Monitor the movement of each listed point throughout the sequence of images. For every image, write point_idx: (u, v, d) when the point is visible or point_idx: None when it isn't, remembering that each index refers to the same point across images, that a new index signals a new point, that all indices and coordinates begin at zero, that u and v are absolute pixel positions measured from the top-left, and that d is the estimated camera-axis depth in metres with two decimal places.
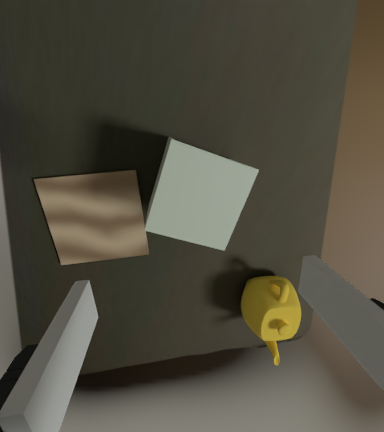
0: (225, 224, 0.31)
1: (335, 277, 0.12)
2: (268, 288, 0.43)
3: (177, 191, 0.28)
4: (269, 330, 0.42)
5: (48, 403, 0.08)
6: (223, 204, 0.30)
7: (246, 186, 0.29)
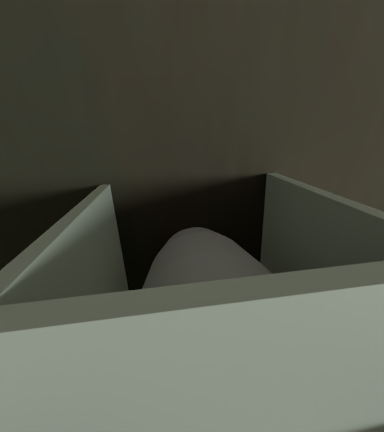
0: None
1: None
2: None
3: None
4: None
5: None
6: None
7: None
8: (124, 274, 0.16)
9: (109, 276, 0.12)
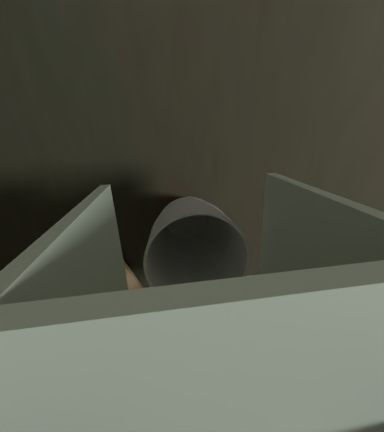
0: None
1: None
2: None
3: None
4: None
5: None
6: None
7: None
8: (124, 274, 0.16)
9: (109, 276, 0.13)
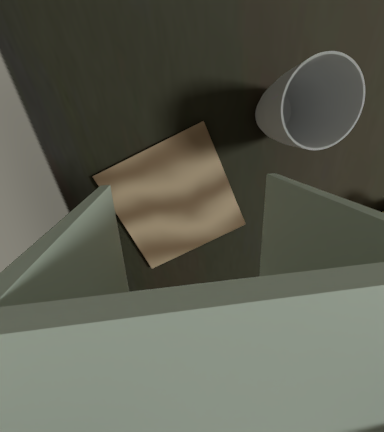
0: None
1: None
2: None
3: None
4: None
5: None
6: None
7: None
8: (124, 274, 0.16)
9: (109, 277, 0.12)
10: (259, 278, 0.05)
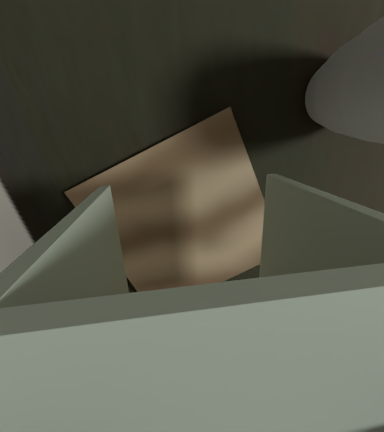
0: None
1: None
2: None
3: None
4: None
5: None
6: None
7: None
8: (124, 275, 0.16)
9: (109, 277, 0.12)
10: (259, 279, 0.05)
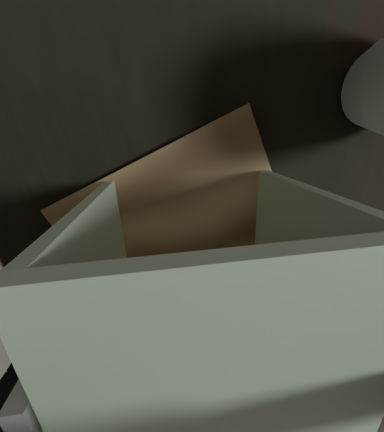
0: None
1: None
2: None
3: (136, 430, 0.07)
4: None
5: None
6: (326, 392, 0.08)
7: None
8: None
9: None
10: (239, 247, 0.06)
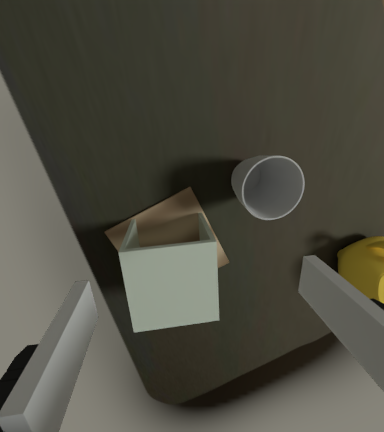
0: (208, 298, 0.30)
1: (335, 277, 0.12)
2: (369, 253, 0.39)
3: (147, 290, 0.28)
4: None
5: (48, 403, 0.08)
6: (197, 283, 0.29)
7: (211, 260, 0.28)
8: None
9: None
10: (169, 244, 0.27)
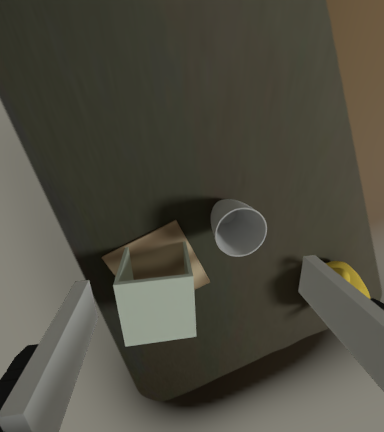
0: (186, 320, 0.36)
1: (335, 277, 0.12)
2: None
3: (136, 314, 0.34)
4: None
5: (48, 403, 0.08)
6: (177, 308, 0.35)
7: (189, 290, 0.34)
8: (132, 276, 0.45)
9: (129, 277, 0.41)
10: None
